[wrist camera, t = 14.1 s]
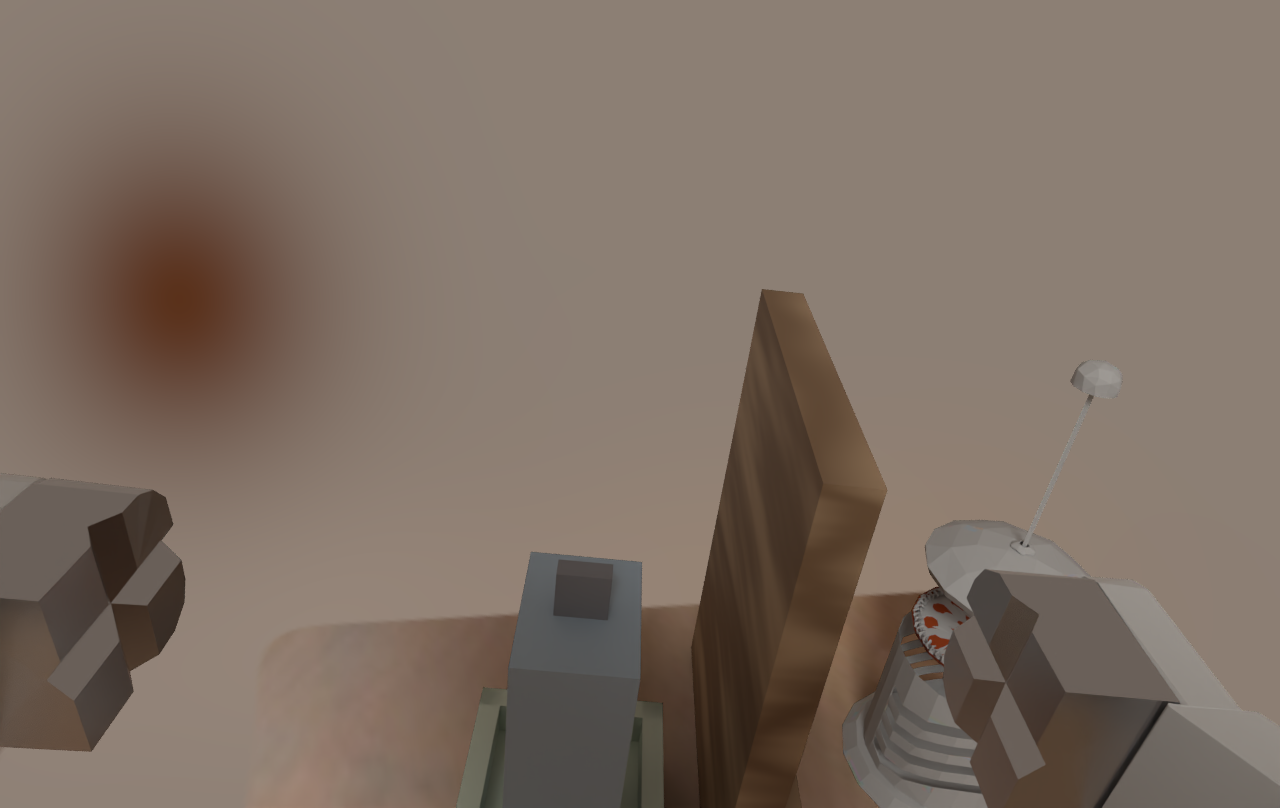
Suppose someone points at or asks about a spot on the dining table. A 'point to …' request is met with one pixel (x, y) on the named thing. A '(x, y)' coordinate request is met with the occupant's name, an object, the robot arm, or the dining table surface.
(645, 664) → the dining table surface
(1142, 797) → the robot arm
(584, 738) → the grey block with tab
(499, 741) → the pale green open box
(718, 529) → the wooden flat block
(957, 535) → the french press
